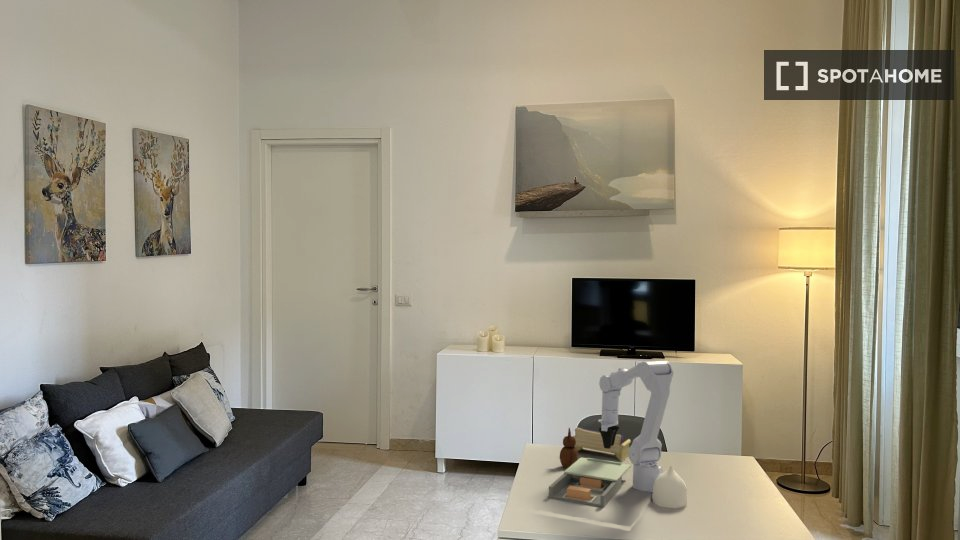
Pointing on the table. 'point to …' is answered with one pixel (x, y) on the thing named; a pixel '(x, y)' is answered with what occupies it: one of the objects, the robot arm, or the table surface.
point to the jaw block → (579, 493)
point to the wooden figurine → (568, 451)
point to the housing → (599, 490)
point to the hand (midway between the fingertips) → (608, 446)
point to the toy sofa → (600, 443)
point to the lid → (598, 469)
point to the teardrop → (670, 490)
